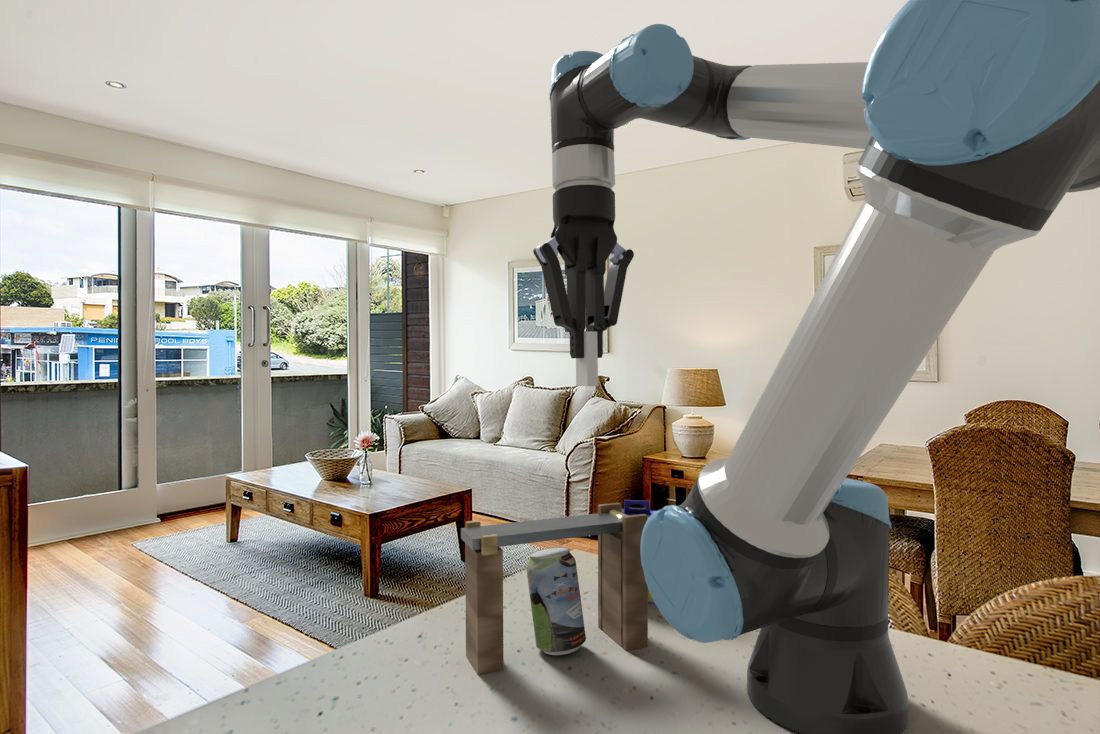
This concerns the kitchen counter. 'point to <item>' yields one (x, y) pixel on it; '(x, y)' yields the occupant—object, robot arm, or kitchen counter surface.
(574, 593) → the beverage can
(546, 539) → the grey bridge beam
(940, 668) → the kitchen counter surface
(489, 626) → the can clamp frame
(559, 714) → the kitchen counter surface
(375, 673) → the kitchen counter surface
